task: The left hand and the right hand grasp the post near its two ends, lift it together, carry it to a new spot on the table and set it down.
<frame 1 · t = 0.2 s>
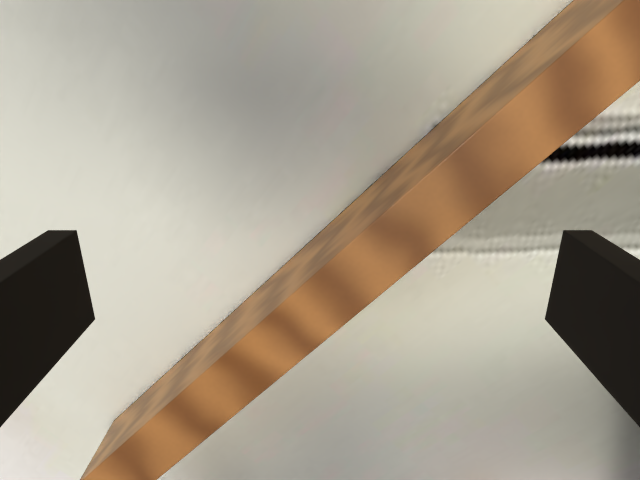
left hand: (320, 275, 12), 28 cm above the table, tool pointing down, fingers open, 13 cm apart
post: (340, 246, 42), on the table
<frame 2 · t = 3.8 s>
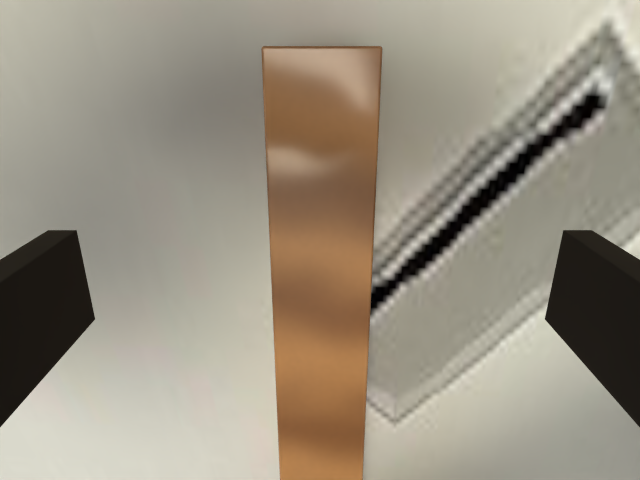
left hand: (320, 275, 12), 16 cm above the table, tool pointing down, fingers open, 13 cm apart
post: (321, 473, 37), on the table, touching right hand
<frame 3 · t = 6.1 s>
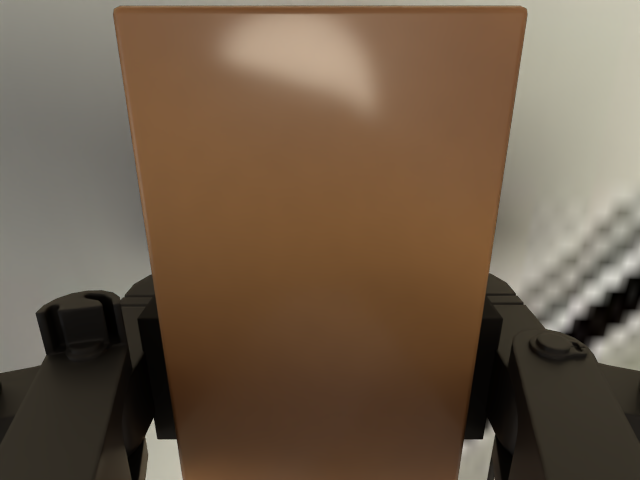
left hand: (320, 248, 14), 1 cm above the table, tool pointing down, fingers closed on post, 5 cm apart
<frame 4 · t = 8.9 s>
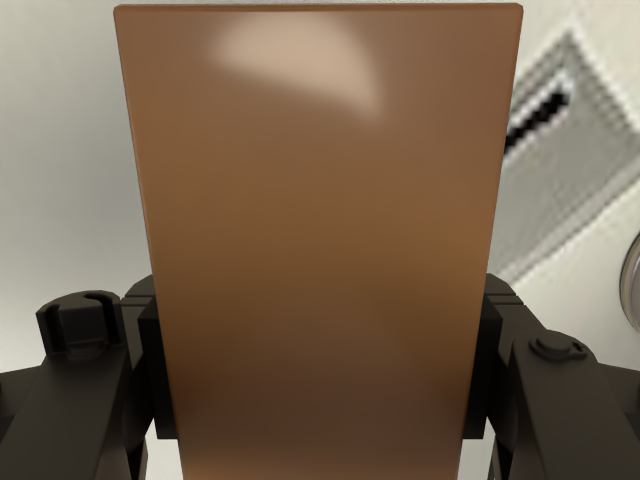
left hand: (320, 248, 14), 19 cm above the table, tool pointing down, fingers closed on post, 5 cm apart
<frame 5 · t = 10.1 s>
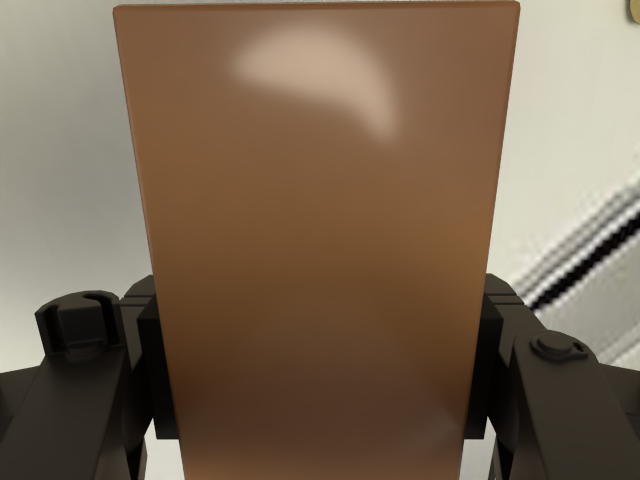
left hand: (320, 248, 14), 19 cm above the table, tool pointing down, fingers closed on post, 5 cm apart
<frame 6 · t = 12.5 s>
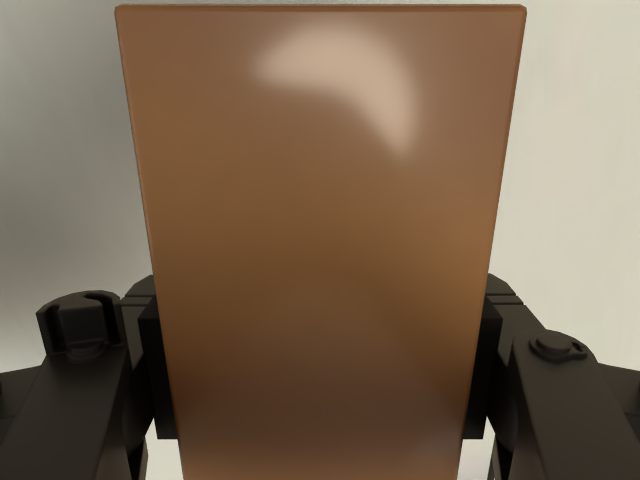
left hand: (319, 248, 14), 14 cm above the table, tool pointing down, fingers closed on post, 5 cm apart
when the left hand's fingers open (2 cm above the table, at t = 14.4 s): post drops 1 cm, on the table.
when the right hand's fingers open (2 cm above the table, at t = 14.4 s): post drops 1 cm, on the table.
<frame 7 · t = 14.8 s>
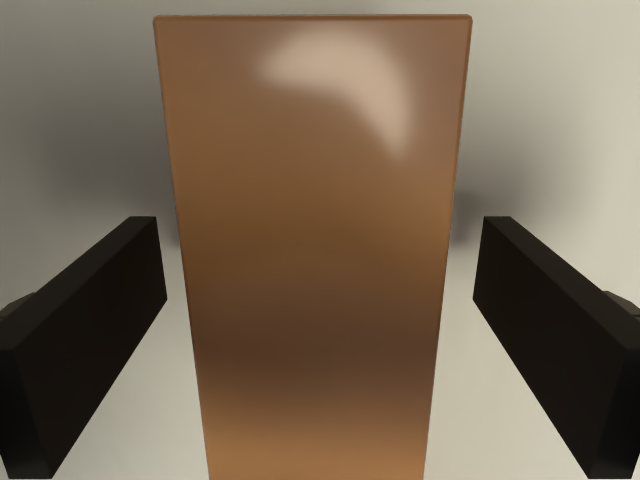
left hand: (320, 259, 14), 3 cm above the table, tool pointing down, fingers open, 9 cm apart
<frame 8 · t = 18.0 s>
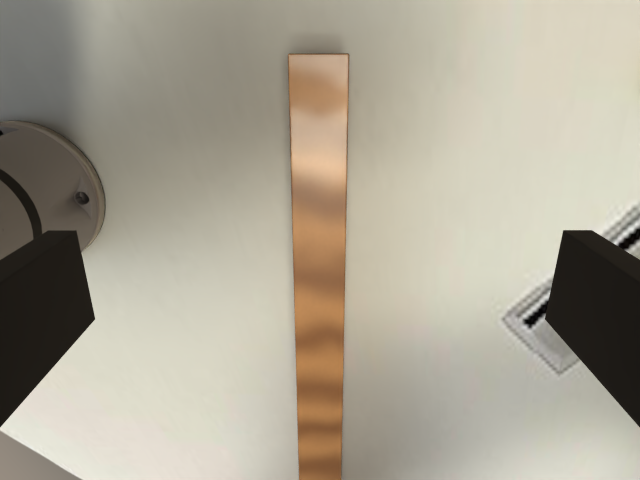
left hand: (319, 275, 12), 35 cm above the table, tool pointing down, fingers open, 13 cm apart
post: (319, 341, 55), on the table
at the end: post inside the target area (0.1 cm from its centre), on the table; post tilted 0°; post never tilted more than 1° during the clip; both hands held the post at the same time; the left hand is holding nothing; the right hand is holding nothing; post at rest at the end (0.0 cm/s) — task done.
